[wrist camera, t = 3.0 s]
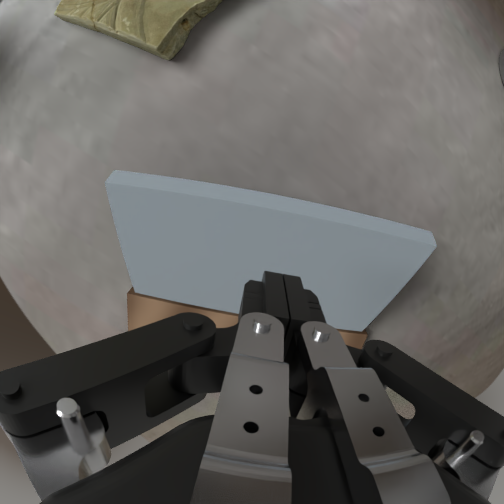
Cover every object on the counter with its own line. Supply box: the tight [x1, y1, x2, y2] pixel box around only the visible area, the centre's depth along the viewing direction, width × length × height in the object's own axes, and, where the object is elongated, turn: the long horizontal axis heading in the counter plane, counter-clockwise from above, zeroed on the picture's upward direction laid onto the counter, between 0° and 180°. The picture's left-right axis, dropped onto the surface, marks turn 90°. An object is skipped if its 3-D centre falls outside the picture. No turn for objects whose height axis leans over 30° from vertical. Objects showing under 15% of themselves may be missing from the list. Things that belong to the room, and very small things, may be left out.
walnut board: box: [127, 287, 368, 349], centre depth 32 cm, size 26×11×2 cm, turn 80°
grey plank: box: [105, 170, 437, 332], centre depth 24 cm, size 24×14×2 cm, turn 80°
